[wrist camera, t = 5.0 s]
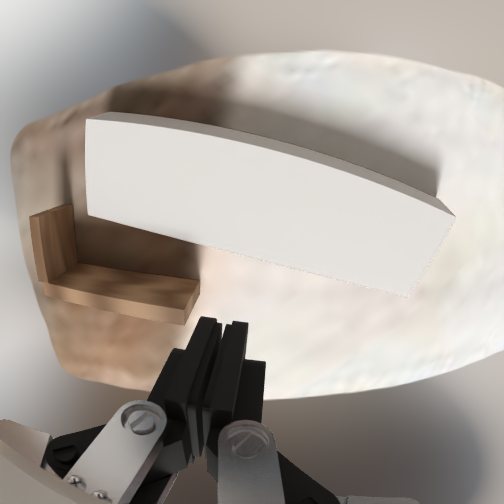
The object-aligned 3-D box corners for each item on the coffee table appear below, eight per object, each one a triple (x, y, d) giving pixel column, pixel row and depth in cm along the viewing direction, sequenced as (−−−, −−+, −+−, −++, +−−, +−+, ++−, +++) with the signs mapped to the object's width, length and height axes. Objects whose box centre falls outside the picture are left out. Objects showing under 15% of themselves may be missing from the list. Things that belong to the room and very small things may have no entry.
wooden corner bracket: (202, 212, 27) (183, 228, 21) (199, 294, 29) (184, 325, 24) (63, 204, 27) (29, 216, 21) (70, 273, 30) (41, 294, 24)
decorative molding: (396, 270, 30) (435, 195, 24) (407, 297, 26) (456, 217, 20) (111, 195, 29) (114, 110, 24) (87, 214, 25) (86, 118, 20)
